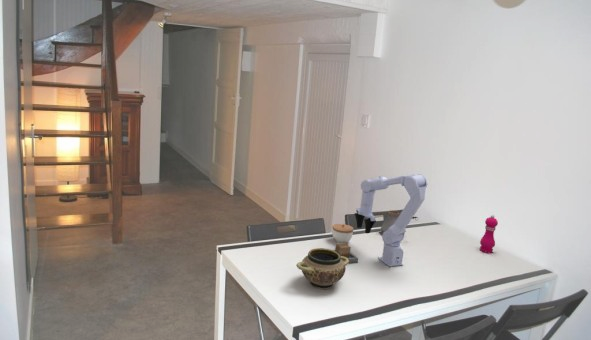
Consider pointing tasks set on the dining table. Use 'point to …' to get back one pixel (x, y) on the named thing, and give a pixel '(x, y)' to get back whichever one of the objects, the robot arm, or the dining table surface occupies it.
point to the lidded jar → (342, 233)
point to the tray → (351, 258)
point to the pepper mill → (488, 235)
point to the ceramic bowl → (323, 267)
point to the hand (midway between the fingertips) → (363, 230)
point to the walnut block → (343, 249)
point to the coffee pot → (391, 220)
